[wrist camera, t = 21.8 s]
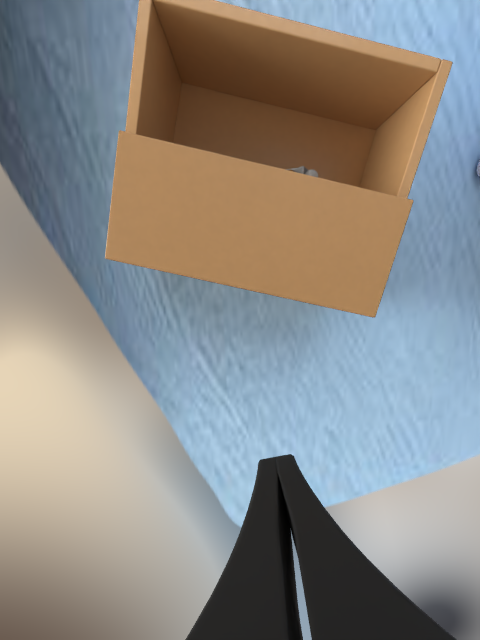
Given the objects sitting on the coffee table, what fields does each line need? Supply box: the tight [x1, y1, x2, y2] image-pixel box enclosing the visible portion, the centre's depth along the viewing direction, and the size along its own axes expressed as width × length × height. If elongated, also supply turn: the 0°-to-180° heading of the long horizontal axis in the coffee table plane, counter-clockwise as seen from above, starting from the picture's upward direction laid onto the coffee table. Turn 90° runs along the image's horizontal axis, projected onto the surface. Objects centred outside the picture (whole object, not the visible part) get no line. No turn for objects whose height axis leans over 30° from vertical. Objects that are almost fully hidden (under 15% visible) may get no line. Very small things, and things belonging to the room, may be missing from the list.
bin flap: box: [105, 131, 413, 317], centre depth 12 cm, size 5×13×1 cm, turn 78°
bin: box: [125, 0, 453, 198], centre depth 15 cm, size 11×13×6 cm
